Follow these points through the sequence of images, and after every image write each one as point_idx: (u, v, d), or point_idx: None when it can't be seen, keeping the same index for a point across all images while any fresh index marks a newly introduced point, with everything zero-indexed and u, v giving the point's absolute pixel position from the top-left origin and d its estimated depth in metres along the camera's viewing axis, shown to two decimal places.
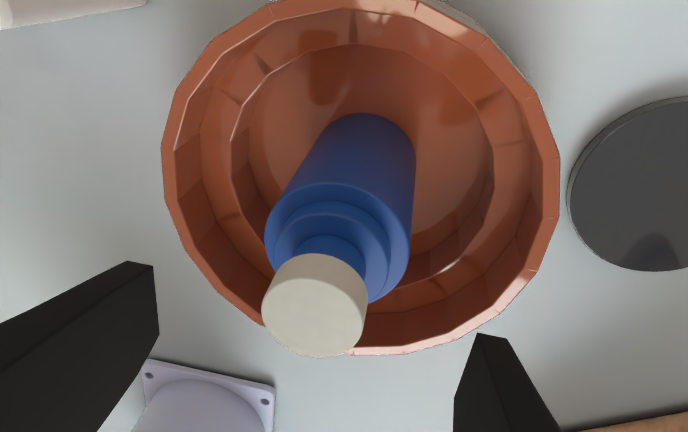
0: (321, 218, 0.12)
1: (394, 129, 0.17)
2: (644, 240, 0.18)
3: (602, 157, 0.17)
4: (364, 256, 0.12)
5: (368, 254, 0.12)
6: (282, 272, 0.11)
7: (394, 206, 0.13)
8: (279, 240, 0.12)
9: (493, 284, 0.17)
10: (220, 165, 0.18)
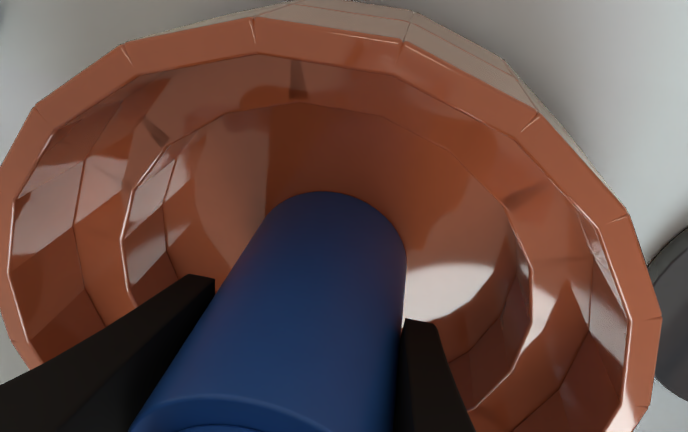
0: None
1: (372, 221, 0.11)
2: None
3: None
4: None
5: None
6: None
7: (356, 430, 0.07)
8: None
9: None
10: (110, 273, 0.12)
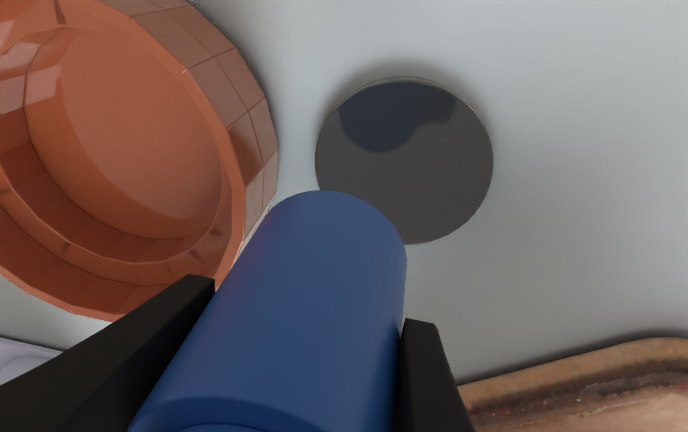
0: None
1: (372, 219, 0.11)
2: (389, 215, 0.20)
3: (332, 135, 0.18)
4: None
5: None
6: None
7: (356, 429, 0.07)
8: None
9: None
10: None
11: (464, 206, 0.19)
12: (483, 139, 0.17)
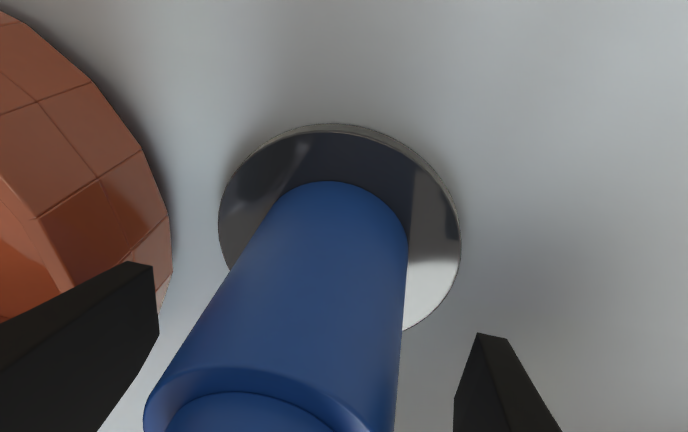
0: None
1: (375, 208, 0.12)
2: None
3: (238, 201, 0.13)
4: None
5: None
6: None
7: (363, 397, 0.07)
8: None
9: None
10: None
11: (424, 296, 0.14)
12: (446, 212, 0.12)
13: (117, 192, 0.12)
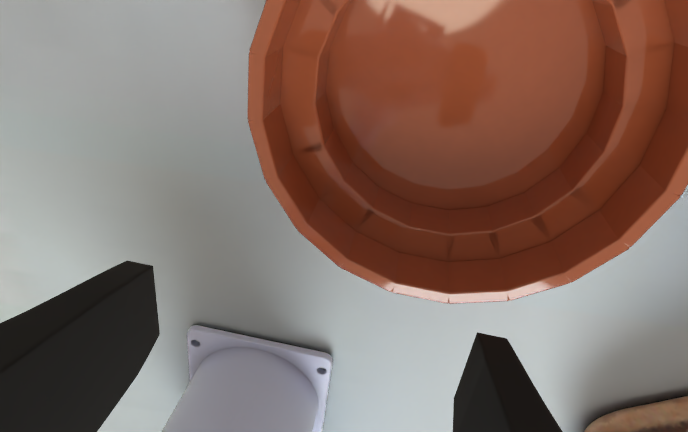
0: None
1: None
2: None
3: None
4: None
5: None
6: None
7: None
8: None
9: (617, 217, 0.15)
10: (303, 87, 0.16)
11: None
12: None
13: None
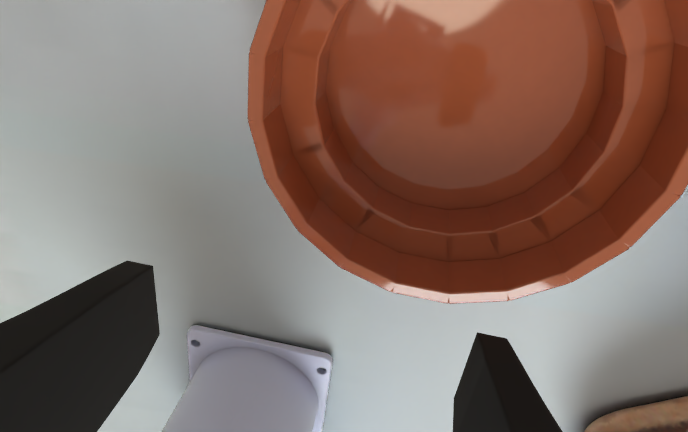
0: None
1: None
2: None
3: None
4: None
5: None
6: None
7: None
8: None
9: (617, 217, 0.15)
10: (303, 87, 0.16)
11: None
12: None
13: None
